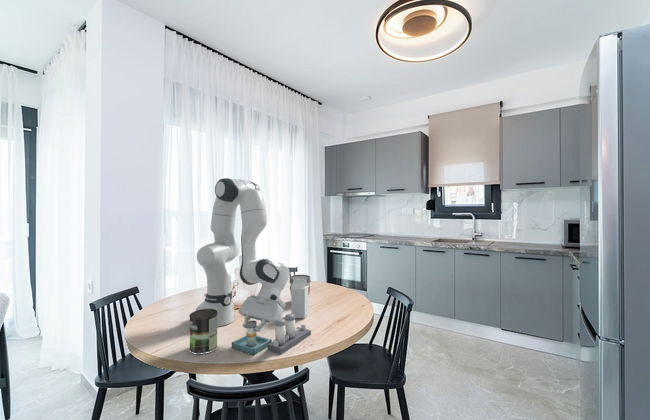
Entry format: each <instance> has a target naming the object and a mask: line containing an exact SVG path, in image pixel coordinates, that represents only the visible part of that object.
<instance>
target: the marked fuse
mask: <svg viewBox="0 0 650 420" xmlns="http://www.w3.org/2000/svg"><path fill="white" fill-rule="evenodd" d="M257 323H258V322H257V320H248V322H247V323H246V327H247V328H246V335H247V341H246V346H247V347H254V346H256V345H257V340H256V335H257V333H258V332H257V331H255V328H256V325H257ZM257 326H258V325H257ZM257 336H258V335H257Z"/></svg>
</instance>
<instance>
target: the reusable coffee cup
mask: <svg viewBox="0 0 650 420" xmlns="http://www.w3.org/2000/svg"><path fill="white" fill-rule="evenodd" d="M293 279H307V284H308V296H309V295H310V290H311V276H310V275H308V274H293V275H291V276H290V275H289V285H290V286H289V290H290V293H291V287H292V284H293Z"/></svg>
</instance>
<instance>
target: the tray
mask: <svg viewBox="0 0 650 420" xmlns="http://www.w3.org/2000/svg"><path fill="white" fill-rule="evenodd" d="M256 340H257V345H256V346H254V347H247V346H246V341H247V334H245V335H244V336H242V337H240V338H237V339H235V340H234V341H232V342H231V348H232V349H234V348H235V349H234V350H236V349H238V350H237V351H239V350H240V352H242V351H243V352H242V353H245V352H246V354H248V353H249V354H248V355H251V356H255V355H257V354H259V353H260V352H262V351H264V350H265V349H266V350H267V349H268V344H270V343H271V342H273V341H272V339H271V338H267V337H264V336H260V335H256ZM258 352H259V353H258Z"/></svg>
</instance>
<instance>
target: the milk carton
mask: <svg viewBox="0 0 650 420" xmlns="http://www.w3.org/2000/svg"><path fill="white" fill-rule="evenodd" d="M290 295H291V299H290V301H291V307H290V308H291V309H290V312H291V313H290V314H295V319H306V318H307V316H308V315H309V295H308V284H307V279H293V284H292V287H291V292H290Z"/></svg>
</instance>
